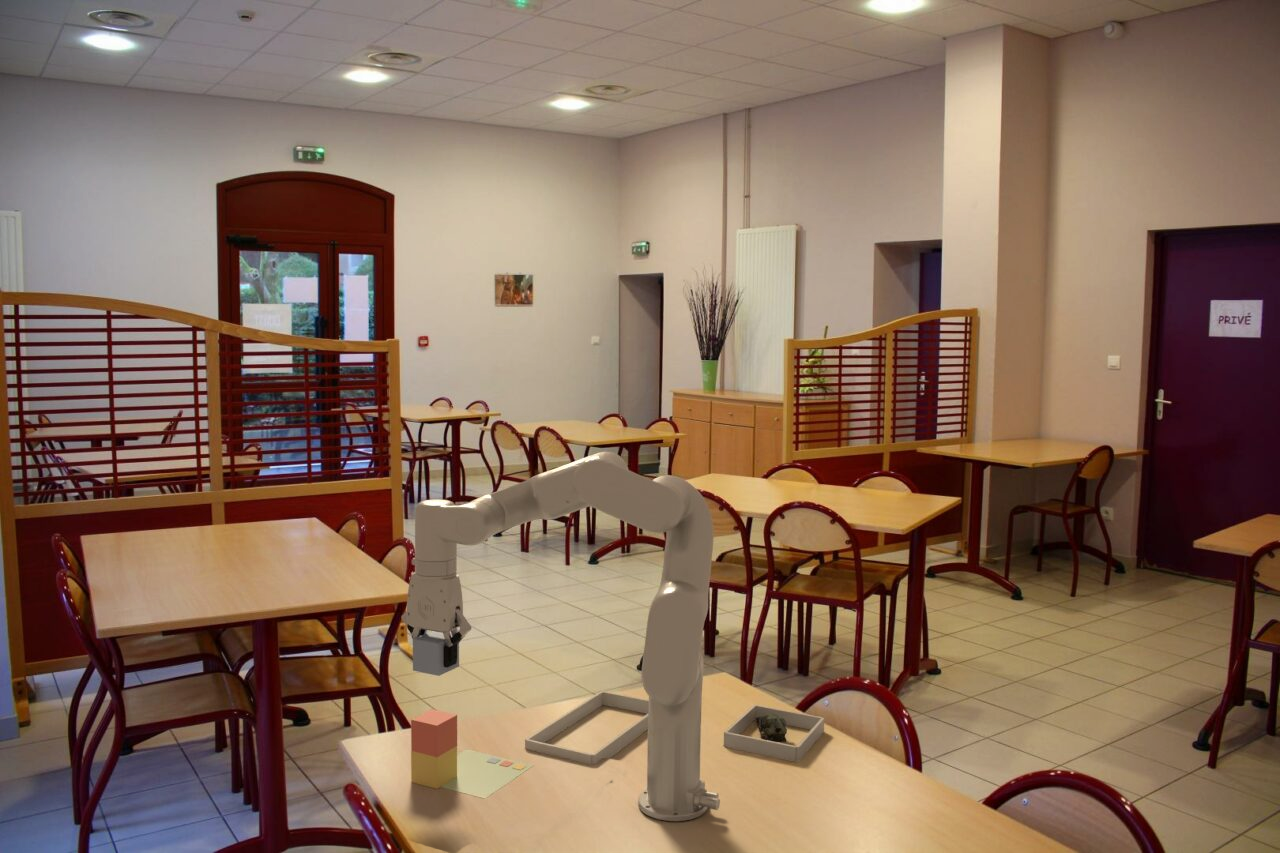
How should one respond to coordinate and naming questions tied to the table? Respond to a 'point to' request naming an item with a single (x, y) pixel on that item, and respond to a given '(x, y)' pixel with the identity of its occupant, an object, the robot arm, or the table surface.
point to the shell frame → (770, 747)
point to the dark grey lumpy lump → (772, 728)
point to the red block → (434, 733)
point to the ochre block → (433, 768)
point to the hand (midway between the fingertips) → (435, 661)
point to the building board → (483, 773)
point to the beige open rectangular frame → (571, 717)
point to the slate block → (431, 654)
